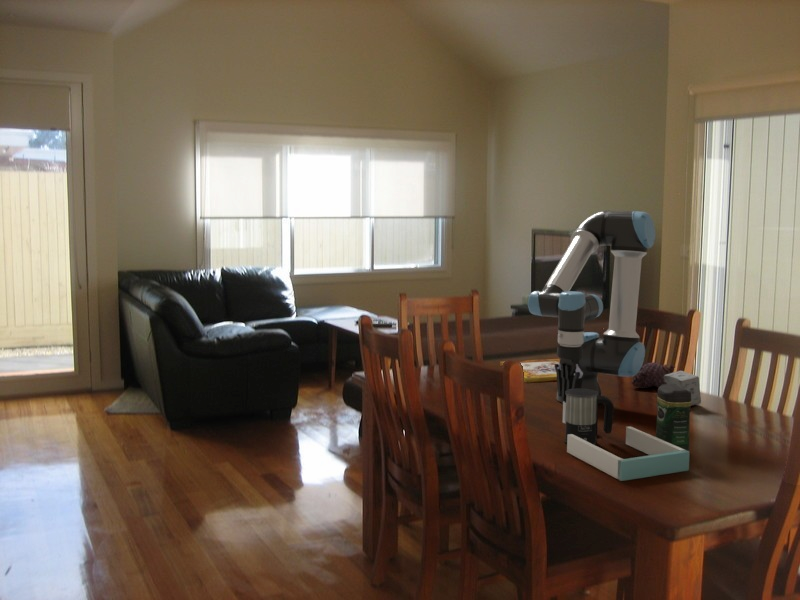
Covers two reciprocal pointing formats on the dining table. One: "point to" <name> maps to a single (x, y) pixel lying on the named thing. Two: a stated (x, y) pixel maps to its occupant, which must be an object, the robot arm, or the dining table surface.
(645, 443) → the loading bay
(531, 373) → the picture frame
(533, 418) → the dining table surface
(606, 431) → the milk frother
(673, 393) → the coffee jar
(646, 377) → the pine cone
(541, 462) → the dining table surface
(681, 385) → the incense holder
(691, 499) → the dining table surface
